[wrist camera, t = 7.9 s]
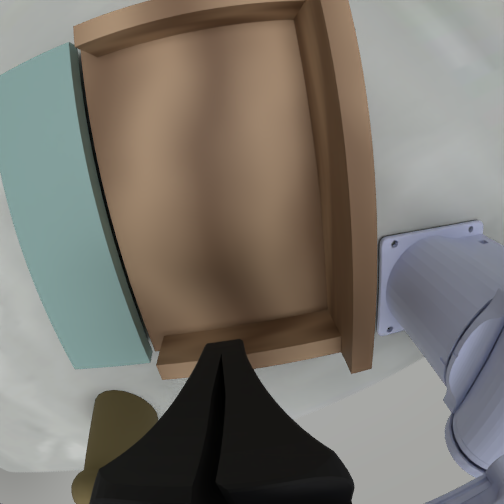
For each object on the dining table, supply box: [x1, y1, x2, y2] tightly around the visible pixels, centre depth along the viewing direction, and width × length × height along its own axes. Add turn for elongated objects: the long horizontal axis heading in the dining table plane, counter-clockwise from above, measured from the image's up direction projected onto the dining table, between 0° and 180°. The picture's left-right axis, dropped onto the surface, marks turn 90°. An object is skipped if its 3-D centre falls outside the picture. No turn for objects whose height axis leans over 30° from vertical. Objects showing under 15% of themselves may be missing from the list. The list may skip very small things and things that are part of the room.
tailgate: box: [0, 42, 153, 369], centre depth 16 cm, size 1×20×6 cm
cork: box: [72, 390, 158, 504], centre depth 20 cm, size 6×6×11 cm
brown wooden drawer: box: [73, 0, 377, 380], centre depth 16 cm, size 13×20×6 cm, turn 9°
